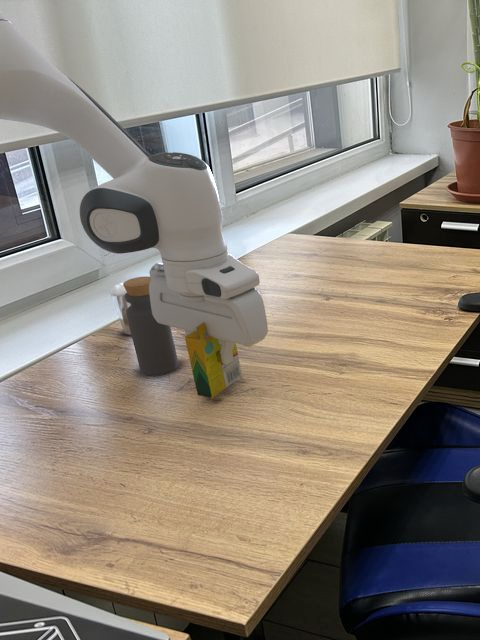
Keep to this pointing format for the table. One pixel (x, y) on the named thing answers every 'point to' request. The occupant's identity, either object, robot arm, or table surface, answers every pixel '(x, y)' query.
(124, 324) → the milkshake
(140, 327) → the bottle
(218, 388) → the crayon box
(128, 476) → the table surface
